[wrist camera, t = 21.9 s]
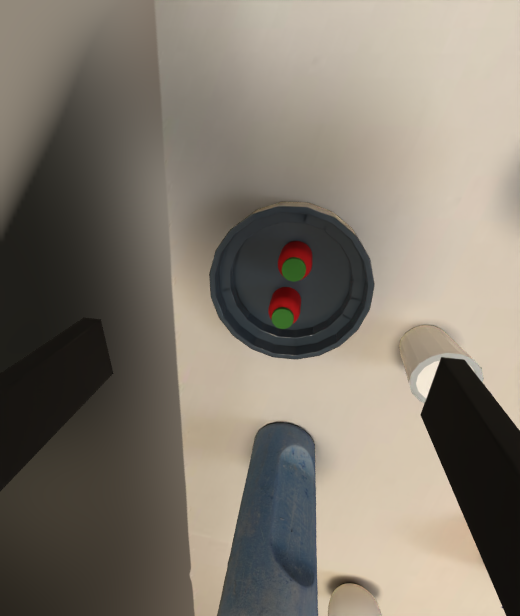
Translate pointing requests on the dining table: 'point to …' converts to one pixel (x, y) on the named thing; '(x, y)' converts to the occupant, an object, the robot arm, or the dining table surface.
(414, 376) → the beige short cylinder
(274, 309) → the strawberry
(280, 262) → the strawberry
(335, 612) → the ornament
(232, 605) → the bottle
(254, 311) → the bowl
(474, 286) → the dining table surface
